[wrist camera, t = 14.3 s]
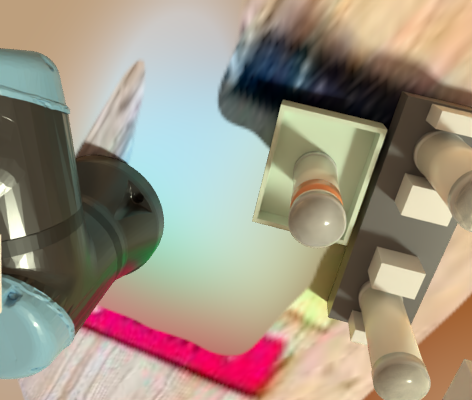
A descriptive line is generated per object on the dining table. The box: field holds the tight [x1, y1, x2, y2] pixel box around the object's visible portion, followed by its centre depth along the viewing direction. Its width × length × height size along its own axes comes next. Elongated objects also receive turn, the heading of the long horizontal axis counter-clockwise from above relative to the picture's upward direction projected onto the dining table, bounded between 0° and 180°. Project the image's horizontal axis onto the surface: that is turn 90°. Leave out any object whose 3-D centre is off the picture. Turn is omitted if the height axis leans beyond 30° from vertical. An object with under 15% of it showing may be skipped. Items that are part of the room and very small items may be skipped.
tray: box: [252, 100, 387, 246], centre depth 47 cm, size 10×13×3 cm
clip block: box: [327, 91, 472, 346], centre depth 46 cm, size 9×26×6 cm, turn 168°
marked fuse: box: [288, 151, 346, 248], centre depth 41 cm, size 5×5×13 cm
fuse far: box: [358, 280, 430, 400], centre depth 43 cm, size 5×5×13 cm
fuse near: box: [413, 129, 472, 232], centre depth 37 cm, size 5×5×13 cm
